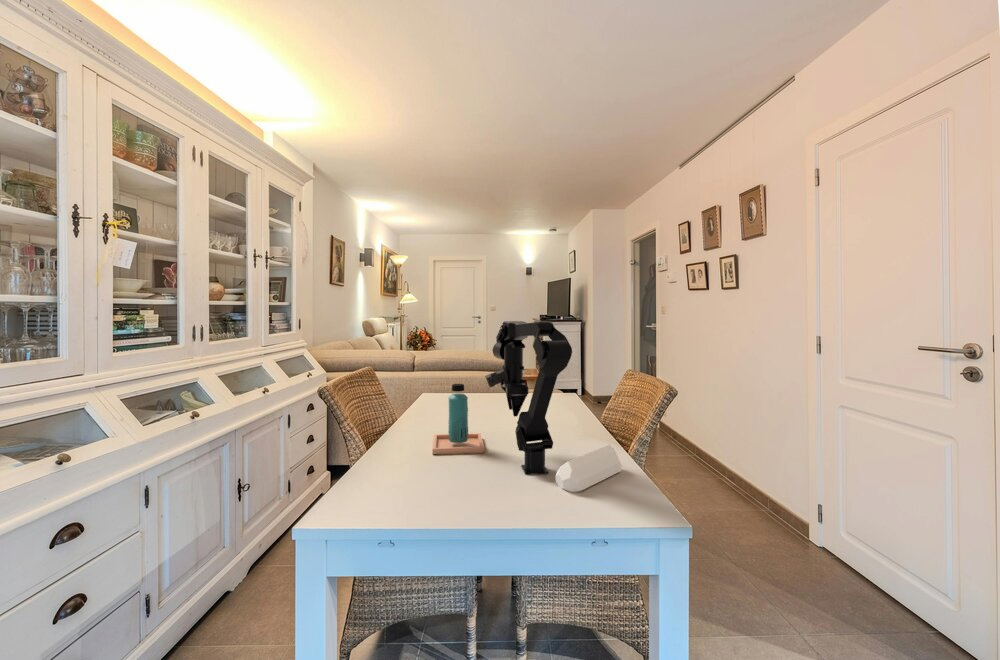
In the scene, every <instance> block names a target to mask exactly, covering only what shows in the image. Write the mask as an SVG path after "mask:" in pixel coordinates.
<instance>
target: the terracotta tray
mask: <svg viewBox="0 0 1000 660" xmlns="http://www.w3.org/2000/svg"><path fill="white" fill-rule="evenodd" d="M448 438H449V433H447V434H446V433H443V434H433V441H432V454H441V455H464V454H463V453H471V454H485V445H484V444H485V443H484V442H483V441H484V440H483V437H482V434H481V433H479V432H477V433H474V432H473V433H468V440H467V441H466V442H463V443H452V442H450V441H449V439H448Z"/></svg>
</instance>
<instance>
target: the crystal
mask: <svg viewBox="0 0 1000 660" xmlns="http://www.w3.org/2000/svg"><path fill="white" fill-rule="evenodd" d="M620 472H622V463H621V460H620V459H619V456H618V454H617V451H616V450H615V448H614V447H613V446H612V445H610V444H608V445H605V446H603V447H600V448H598V449H596V450H593V451H590V452H588V453H585V454H583V455H581V456H578V457H575V458H573V459H570V460H568V461H566V462H565V463H563V464H562V465H560V467H559V468H558V470H557V472H556V474H555V484H556V485H557V486H558V488H560V489H561V490H565V491H567V492H571V493H576V492H582V491H584V490H585V489H588V488H590V487H592V486H593V485H595V484H597V483H600V482H601V481H603V480H606V479H607V478H610V477H612V476H614V475H615V474H617V473H620Z"/></svg>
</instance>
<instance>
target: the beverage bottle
mask: <svg viewBox="0 0 1000 660" xmlns="http://www.w3.org/2000/svg"><path fill="white" fill-rule="evenodd" d="M451 391H452V392H458V393H451V395H450V396H449V397H448V419H447V420H448V421H447V422H448V431H447V432H448V433H447V434H449V438H448V439H449V441H450V442H452V443H463V442H466V441H467V440H468V434H469V420H468V418H469V417H468V416H469V407H468V404H469V403H468V396H467V395H466V394H465V393H459V392H464V391H465V384H464V383H454V384H451Z"/></svg>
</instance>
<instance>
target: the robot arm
mask: <svg viewBox="0 0 1000 660" xmlns="http://www.w3.org/2000/svg"><path fill="white" fill-rule="evenodd" d="M532 336H533V338H534V339H533V342H532V347H533V348H532V349H533V350H534V352H535V354H536V358H535V359H536V362H537V364H538V367H539V370H538V373H537V377H536V381H535V384H534V387H533V392H532V395H531V399H530V403H529V406H528V410H527V411H521V409H522V407H523V404H524V403H525V400H526V398H527V397H528V395H529V387H528V386H527V385H526V383H525V379H524V377H523V376H524V375H523V374H524V370H525V366H524V364H523V363H524V362H523V361H524V349H525V348H526V345H525V344H524V343H523V340H525V339H527V338H528V337H532ZM540 337H548V338H549V340H541V338H540ZM495 339H496V342H495V344H494V345H493V347H492V353H493V356H494V357H495V358H496V359H499V360H503V364H502V365H501V366H502V367H501V369H500V370H498V371H497V370H496V371H494V372H490V373H488V374H486V375H485V379H486V382H487V386H488V387H489V388H492V387H493V388H494V387H495V386H496V385H500V388H501V389H502V390H503V391H504V393H505V395H506V401H507V405H508V408H509V409H508V410H510V411H511V410H512V415H513V417H515V418H516V417H518V420H517V422H516V424H517V425H516V428H515V436H516V437H515V438H516V446H517V448H518V451H520V452H523V453H524V458H523V459H524V463H523V464H521V469H522V470H523V472H524V475H543V474H544V475H545V474H547V475H548V474H549V470H548V468H547V466H546V450H551V449H553V446H554V441H553V439H552V436H551V434H550V430H549V424H548V421H547V419H546V415H547V413H548V409H549V406H550V401H551V399H552V395H553V392H554V390H555V389H554V388H555V386H556V382H557V379H558V376H559V375H560V373H562V372H563V371H564V370H565V369H566V368H567V366H568V365H569V362H570V360H571V358H572V354H573V348H572V345H571V344H570V342H569V340H568V339H567V337H566V335H564V333H562V332H561V331H559V330H558V329H557V328H556V327H555V325H554V323H553V322H551V321H548V320H543V321H542V320H537V321H534V322H527V321H523V320H522V321H521V320H513V321H512V320H510V321H509V320H507V321H506V320H504V321H503V322H502V324H501V326H500V328H499V331H498V333H497V334H496V337H495ZM520 411H521V412H520ZM518 415H519V416H518Z"/></svg>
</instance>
